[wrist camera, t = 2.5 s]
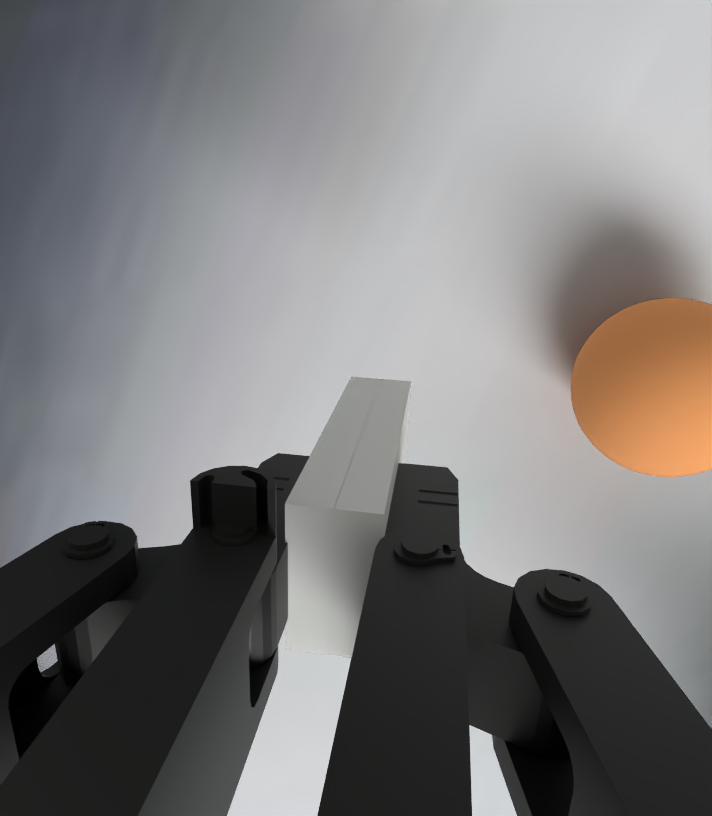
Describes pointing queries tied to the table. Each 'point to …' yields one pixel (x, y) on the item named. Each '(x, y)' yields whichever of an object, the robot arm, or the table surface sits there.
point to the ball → (649, 387)
